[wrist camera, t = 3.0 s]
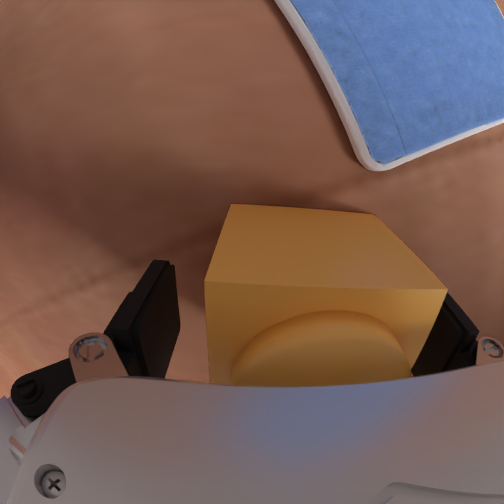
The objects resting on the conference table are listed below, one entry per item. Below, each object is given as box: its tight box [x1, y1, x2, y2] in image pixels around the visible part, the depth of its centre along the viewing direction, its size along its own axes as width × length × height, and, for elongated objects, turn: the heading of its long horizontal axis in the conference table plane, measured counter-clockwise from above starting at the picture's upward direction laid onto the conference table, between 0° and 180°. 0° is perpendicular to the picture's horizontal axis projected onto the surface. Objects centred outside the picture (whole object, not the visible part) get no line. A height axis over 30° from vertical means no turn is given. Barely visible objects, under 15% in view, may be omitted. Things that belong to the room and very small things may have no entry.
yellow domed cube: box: [204, 204, 448, 386], centre depth 10 cm, size 6×6×7 cm
